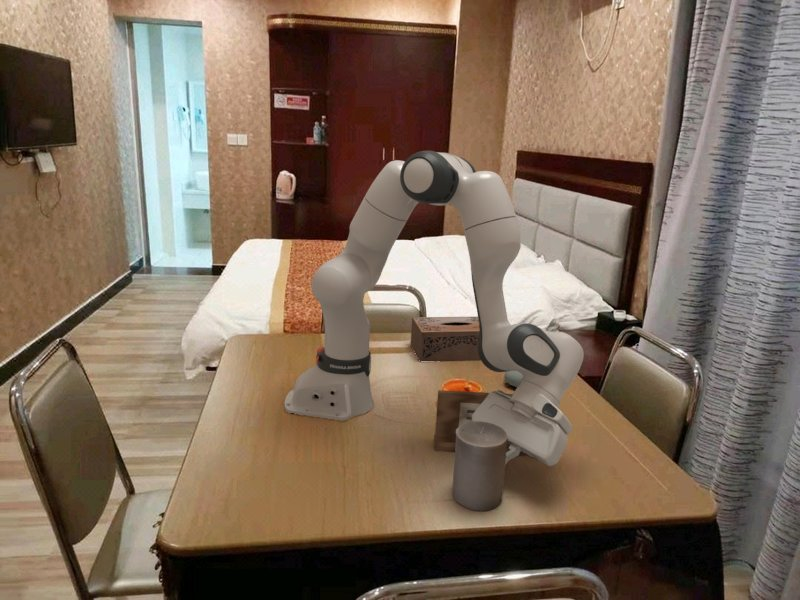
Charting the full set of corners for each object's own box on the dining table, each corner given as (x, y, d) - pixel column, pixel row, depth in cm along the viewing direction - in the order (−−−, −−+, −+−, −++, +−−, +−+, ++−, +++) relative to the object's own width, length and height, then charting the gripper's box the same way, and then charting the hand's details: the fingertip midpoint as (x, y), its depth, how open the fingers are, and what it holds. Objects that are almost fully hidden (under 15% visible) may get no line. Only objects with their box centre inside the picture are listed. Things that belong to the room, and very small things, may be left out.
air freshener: (511, 374, 172) (515, 343, 169) (539, 380, 168) (543, 348, 166) (501, 388, 162) (505, 354, 159) (530, 394, 159) (534, 361, 156)
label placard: (434, 450, 128) (438, 396, 125) (434, 439, 133) (437, 386, 130) (543, 456, 128) (550, 401, 125) (538, 444, 133) (545, 391, 129)
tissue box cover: (485, 344, 196) (487, 316, 194) (499, 360, 183) (502, 330, 180) (410, 346, 192) (412, 317, 189) (419, 363, 178) (421, 332, 175)
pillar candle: (497, 482, 118) (503, 415, 114) (506, 512, 108) (513, 440, 104) (449, 481, 118) (453, 414, 113) (454, 511, 108) (459, 439, 104)
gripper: (487, 380, 124) (452, 434, 121) (569, 417, 109) (532, 480, 106) (499, 394, 128) (465, 447, 125) (580, 431, 113) (544, 492, 110)
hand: (496, 462), depth 115 cm, fingers closed, pressing on pillar candle
